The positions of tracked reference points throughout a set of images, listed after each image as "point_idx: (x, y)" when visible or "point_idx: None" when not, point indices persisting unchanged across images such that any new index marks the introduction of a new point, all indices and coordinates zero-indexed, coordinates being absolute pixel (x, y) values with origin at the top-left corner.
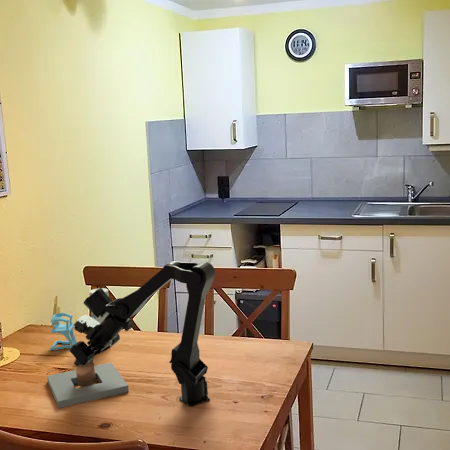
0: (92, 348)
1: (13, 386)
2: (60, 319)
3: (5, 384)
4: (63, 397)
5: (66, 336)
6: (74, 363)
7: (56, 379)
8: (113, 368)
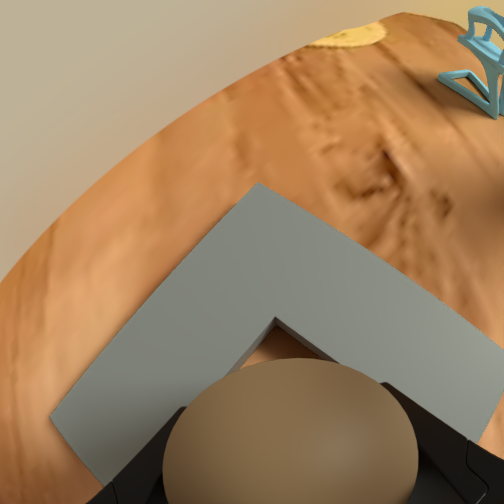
0: (432, 496)
1: (190, 130)
2: (493, 23)
3: (198, 106)
4: (79, 422)
5: (489, 77)
6: (179, 411)
7: (239, 249)
8: (473, 436)
